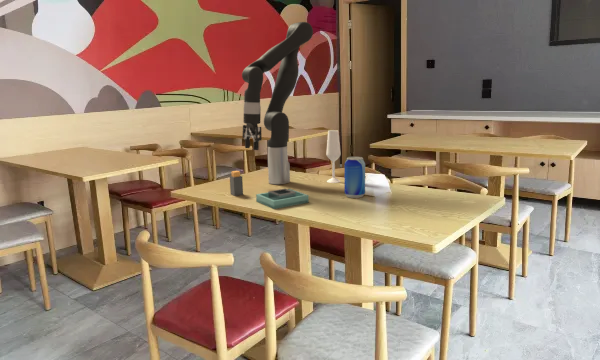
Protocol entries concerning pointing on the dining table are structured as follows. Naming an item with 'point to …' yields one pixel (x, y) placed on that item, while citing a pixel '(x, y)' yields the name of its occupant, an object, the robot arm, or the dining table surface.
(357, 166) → the beer can
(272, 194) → the inlet
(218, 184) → the dining table surface
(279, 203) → the tray
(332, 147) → the champagne flute
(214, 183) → the dining table surface
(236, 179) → the grey square peg
